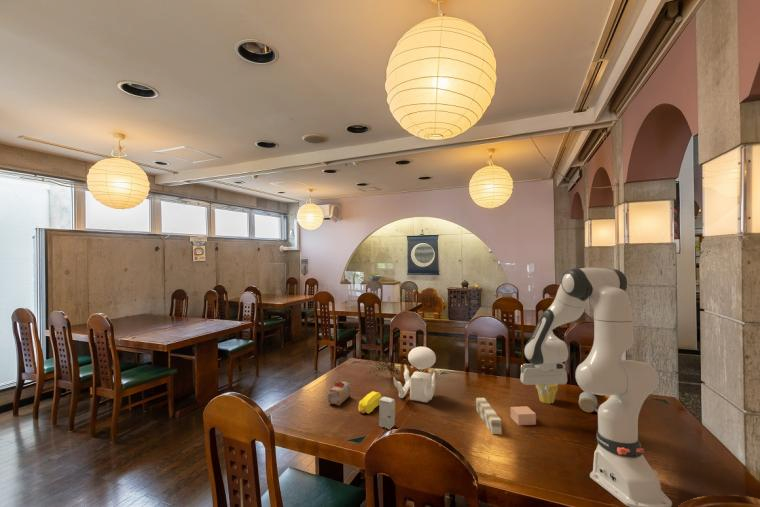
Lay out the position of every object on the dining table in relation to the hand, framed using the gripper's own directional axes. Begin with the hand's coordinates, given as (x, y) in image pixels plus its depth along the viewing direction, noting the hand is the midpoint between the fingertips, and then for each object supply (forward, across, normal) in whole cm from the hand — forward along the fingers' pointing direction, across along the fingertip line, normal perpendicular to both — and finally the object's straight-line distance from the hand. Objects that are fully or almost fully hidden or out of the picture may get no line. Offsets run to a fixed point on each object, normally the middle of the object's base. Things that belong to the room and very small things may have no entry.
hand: (543, 393), depth 160 cm
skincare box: (+12, -72, -4) cm, 73 cm away
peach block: (+12, -10, -1) cm, 16 cm away
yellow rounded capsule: (+13, -80, +16) cm, 83 cm away
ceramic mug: (+12, +27, +9) cm, 31 cm away
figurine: (+13, -55, +27) cm, 63 cm away
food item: (+13, -97, +25) cm, 101 cm away
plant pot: (+13, +11, +20) cm, 26 cm away
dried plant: (+14, -82, +59) cm, 102 cm away
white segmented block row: (+12, -26, -1) cm, 29 cm away
